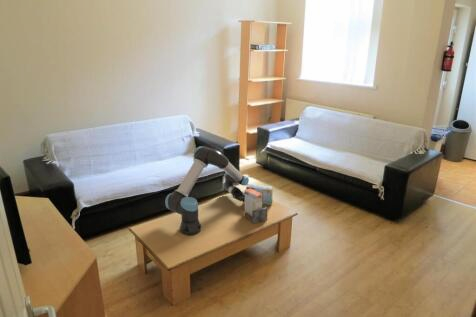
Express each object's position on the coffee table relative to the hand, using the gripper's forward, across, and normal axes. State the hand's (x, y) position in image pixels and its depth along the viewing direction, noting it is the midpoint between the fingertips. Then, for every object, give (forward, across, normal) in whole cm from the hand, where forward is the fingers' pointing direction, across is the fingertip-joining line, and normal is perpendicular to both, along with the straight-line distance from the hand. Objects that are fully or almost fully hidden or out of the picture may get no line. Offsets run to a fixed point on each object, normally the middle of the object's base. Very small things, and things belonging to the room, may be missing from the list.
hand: (249, 202), depth 269 cm
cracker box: (+7, +1, -8) cm, 11 cm away
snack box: (-11, -16, -8) cm, 21 cm away
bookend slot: (+10, 0, -8) cm, 13 cm away
